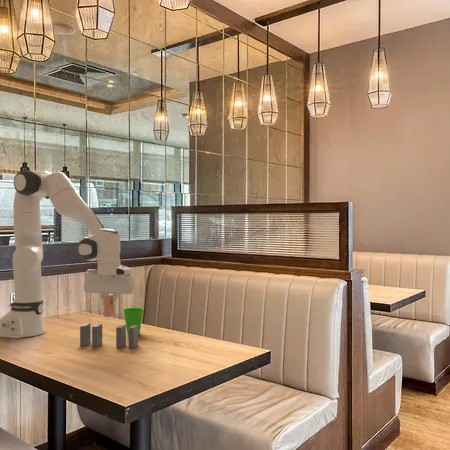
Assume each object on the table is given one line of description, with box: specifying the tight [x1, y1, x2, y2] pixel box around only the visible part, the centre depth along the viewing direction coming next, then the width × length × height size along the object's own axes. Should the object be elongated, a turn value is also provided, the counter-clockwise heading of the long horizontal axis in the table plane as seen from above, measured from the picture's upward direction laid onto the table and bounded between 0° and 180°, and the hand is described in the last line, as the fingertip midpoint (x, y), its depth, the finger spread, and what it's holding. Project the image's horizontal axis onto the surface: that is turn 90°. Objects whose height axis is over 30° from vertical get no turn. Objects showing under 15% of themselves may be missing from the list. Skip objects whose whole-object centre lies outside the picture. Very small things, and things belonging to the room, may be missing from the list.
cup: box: [122, 306, 145, 336], centre depth 198 cm, size 9×9×11 cm
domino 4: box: [115, 324, 127, 349], centre depth 179 cm, size 2×5×8 cm, turn 171°
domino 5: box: [128, 325, 139, 350], centre depth 178 cm, size 2×5×8 cm, turn 171°
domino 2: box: [91, 323, 103, 348], centre depth 181 cm, size 2×5×8 cm, turn 171°
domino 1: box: [79, 322, 92, 347], centre depth 181 cm, size 2×5×8 cm, turn 171°
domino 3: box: [103, 293, 115, 318], centre depth 180 cm, size 2×5×8 cm, turn 171°
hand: (109, 304), depth 180 cm, fingers closed on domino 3, 2 cm apart
